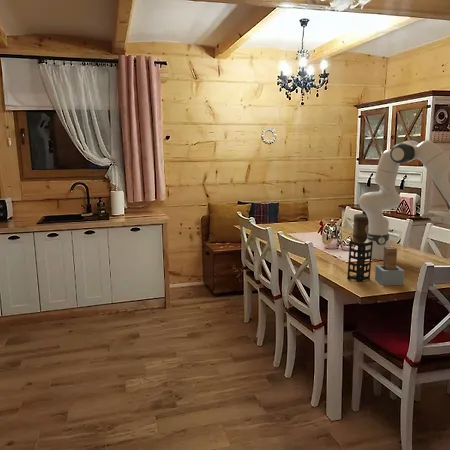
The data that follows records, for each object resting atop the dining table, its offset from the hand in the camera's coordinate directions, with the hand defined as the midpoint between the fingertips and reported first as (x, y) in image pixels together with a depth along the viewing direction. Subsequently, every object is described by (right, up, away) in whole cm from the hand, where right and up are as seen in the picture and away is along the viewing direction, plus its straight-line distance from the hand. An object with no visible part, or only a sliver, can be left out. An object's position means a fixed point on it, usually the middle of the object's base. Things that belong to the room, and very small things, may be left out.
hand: (426, 217), depth 205 cm
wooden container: (-1, -15, +89) cm, 90 cm away
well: (-19, -31, -2) cm, 37 cm away
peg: (-19, -30, -2) cm, 36 cm away
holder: (-32, -31, +2) cm, 45 cm away
